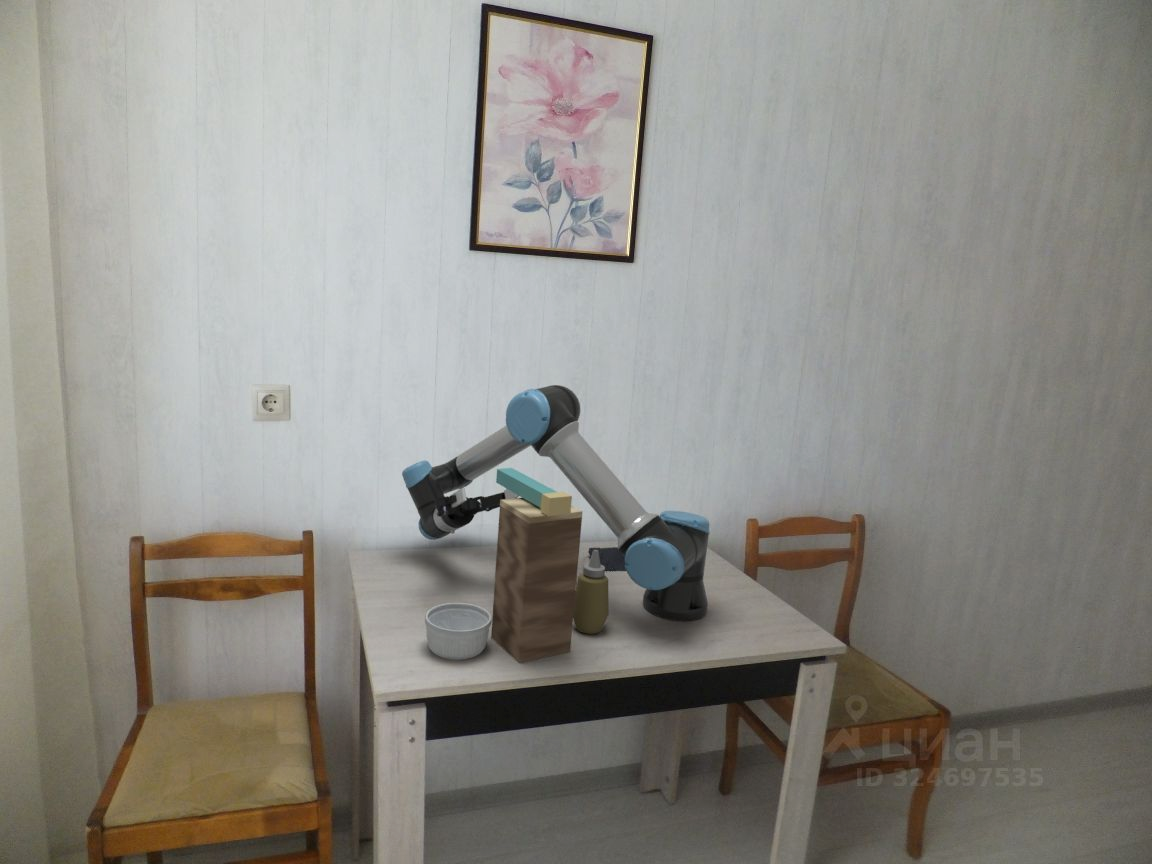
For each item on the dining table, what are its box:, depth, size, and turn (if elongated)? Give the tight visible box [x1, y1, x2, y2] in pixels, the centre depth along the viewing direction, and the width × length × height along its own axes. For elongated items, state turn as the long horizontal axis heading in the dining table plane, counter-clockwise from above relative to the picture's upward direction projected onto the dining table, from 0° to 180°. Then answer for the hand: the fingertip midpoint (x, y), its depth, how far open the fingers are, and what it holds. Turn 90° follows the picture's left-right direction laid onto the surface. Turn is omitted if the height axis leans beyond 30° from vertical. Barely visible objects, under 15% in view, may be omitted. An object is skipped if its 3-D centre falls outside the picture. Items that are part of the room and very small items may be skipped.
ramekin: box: [424, 602, 492, 661], centre depth 169 cm, size 13×13×7 cm
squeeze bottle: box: [573, 550, 610, 635], centre depth 181 cm, size 8×8×18 cm
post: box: [490, 497, 583, 664], centre depth 170 cm, size 12×12×30 cm
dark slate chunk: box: [587, 546, 627, 573], centre depth 226 cm, size 15×22×5 cm
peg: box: [495, 467, 573, 516], centre depth 170 cm, size 23×5×4 cm, turn 33°
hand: (492, 491), depth 184 cm, fingers open, 13 cm apart
